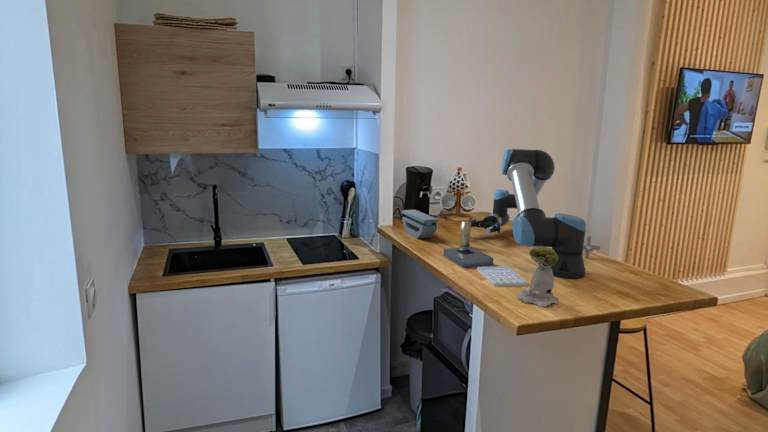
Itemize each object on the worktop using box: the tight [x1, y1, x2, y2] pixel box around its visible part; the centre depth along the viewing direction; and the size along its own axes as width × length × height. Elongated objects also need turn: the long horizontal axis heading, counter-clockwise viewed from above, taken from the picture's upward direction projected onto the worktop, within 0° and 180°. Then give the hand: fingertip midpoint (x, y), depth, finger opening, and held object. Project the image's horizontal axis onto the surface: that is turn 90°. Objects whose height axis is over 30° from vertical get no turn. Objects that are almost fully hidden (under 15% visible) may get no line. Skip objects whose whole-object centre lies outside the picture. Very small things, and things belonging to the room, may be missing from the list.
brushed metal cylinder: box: [459, 220, 472, 248], centre depth 225 cm, size 4×4×12 cm
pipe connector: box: [583, 235, 601, 259], centre depth 214 cm, size 10×10×10 cm
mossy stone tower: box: [517, 246, 559, 307], centre depth 162 cm, size 12×13×18 cm
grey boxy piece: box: [401, 209, 439, 240], centre depth 245 cm, size 25×8×11 cm, turn 23°
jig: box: [443, 246, 495, 268], centre depth 206 cm, size 18×14×3 cm
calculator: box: [476, 265, 529, 287], centre depth 186 cm, size 13×20×2 cm, turn 8°
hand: (473, 229), depth 232 cm, fingers open, 13 cm apart
